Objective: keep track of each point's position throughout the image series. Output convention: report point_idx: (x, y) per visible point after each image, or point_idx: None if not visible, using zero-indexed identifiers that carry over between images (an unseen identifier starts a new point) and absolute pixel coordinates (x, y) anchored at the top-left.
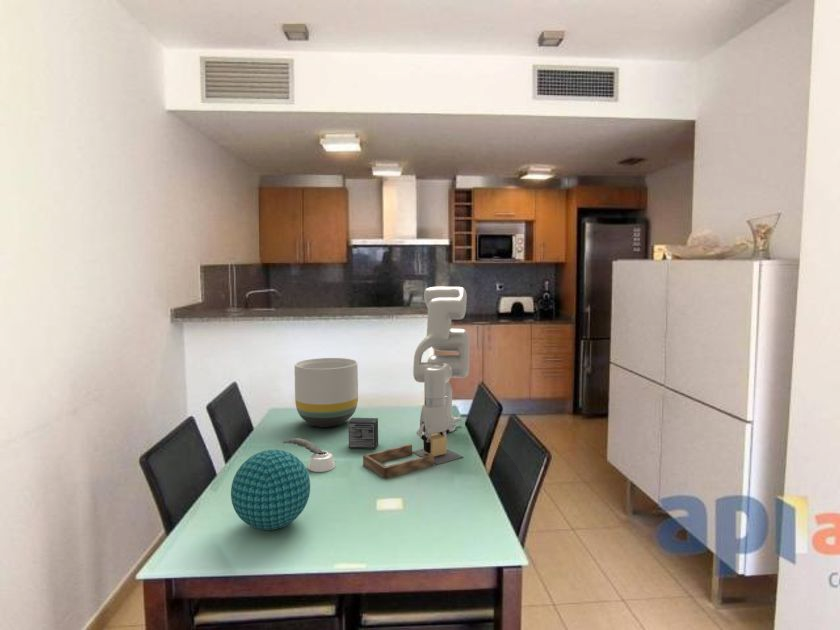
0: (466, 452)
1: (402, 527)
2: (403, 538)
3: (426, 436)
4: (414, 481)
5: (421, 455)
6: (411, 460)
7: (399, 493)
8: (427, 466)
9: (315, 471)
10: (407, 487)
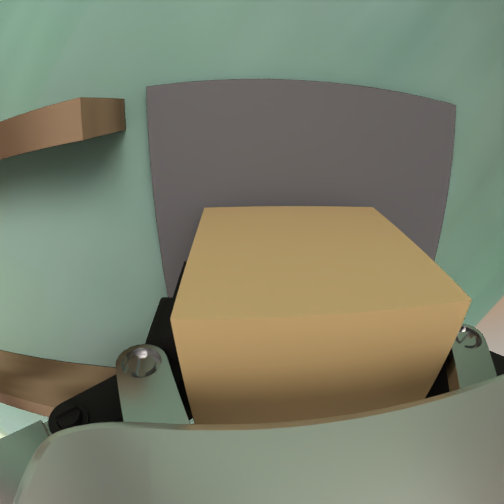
0: (465, 319)
1: None
2: None
3: (181, 407)
4: (43, 421)
5: (169, 227)
6: (18, 403)
7: (4, 428)
8: None
9: None
10: (22, 426)
